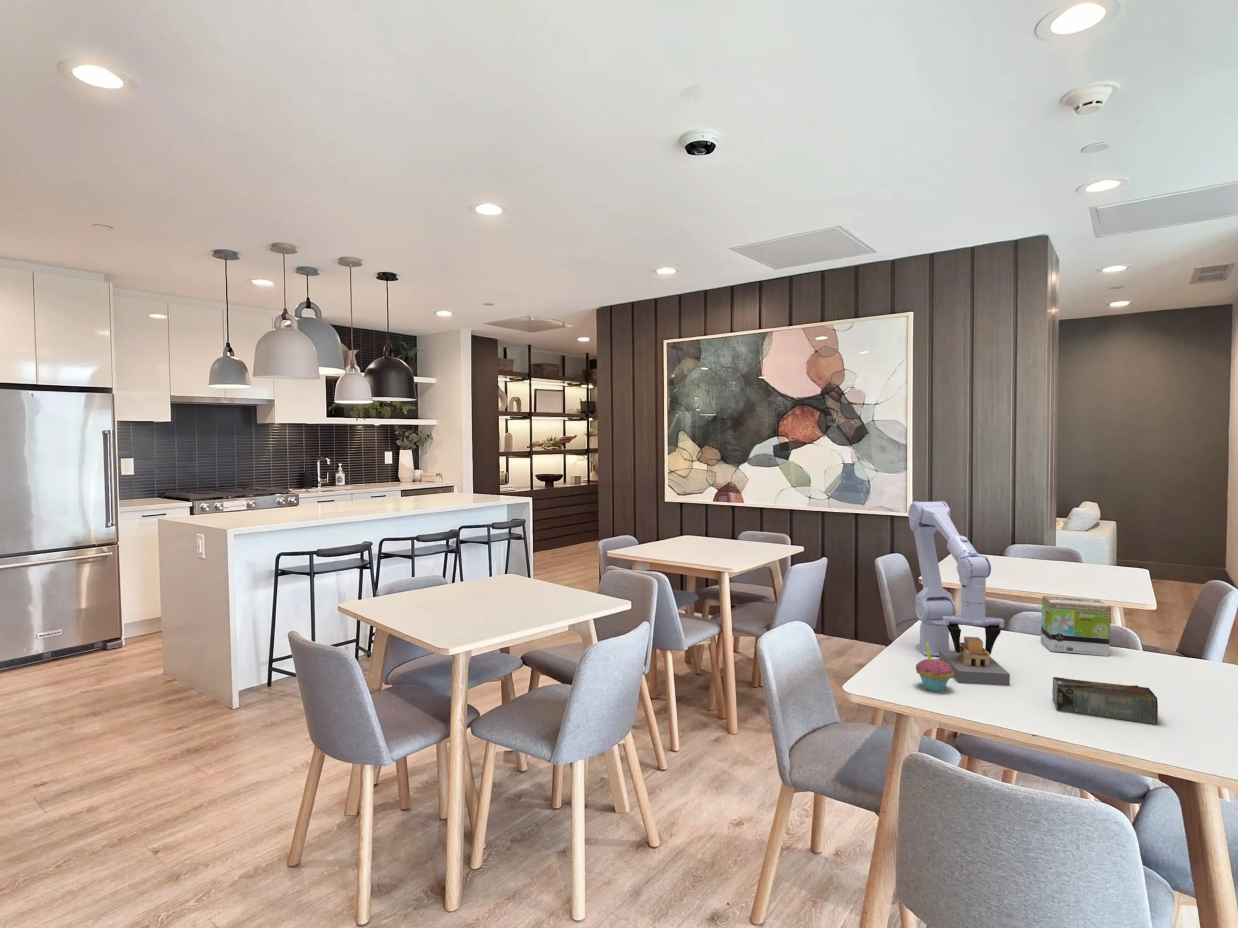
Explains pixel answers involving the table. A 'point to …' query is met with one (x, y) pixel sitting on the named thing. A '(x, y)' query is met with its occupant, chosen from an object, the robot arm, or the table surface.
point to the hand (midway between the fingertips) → (972, 652)
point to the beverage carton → (1105, 700)
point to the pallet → (974, 657)
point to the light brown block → (973, 644)
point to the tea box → (1075, 625)
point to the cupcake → (934, 672)
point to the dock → (975, 671)
